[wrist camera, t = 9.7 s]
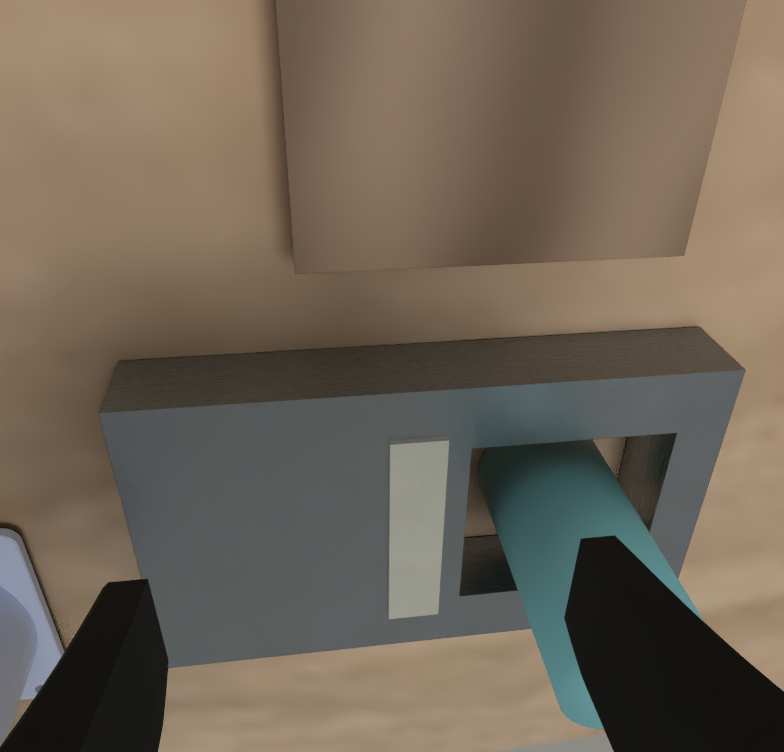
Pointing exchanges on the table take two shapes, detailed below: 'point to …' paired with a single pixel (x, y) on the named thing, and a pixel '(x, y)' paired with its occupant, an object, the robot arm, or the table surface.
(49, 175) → the table surface
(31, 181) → the table surface
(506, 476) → the peg
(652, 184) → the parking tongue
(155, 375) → the plate
